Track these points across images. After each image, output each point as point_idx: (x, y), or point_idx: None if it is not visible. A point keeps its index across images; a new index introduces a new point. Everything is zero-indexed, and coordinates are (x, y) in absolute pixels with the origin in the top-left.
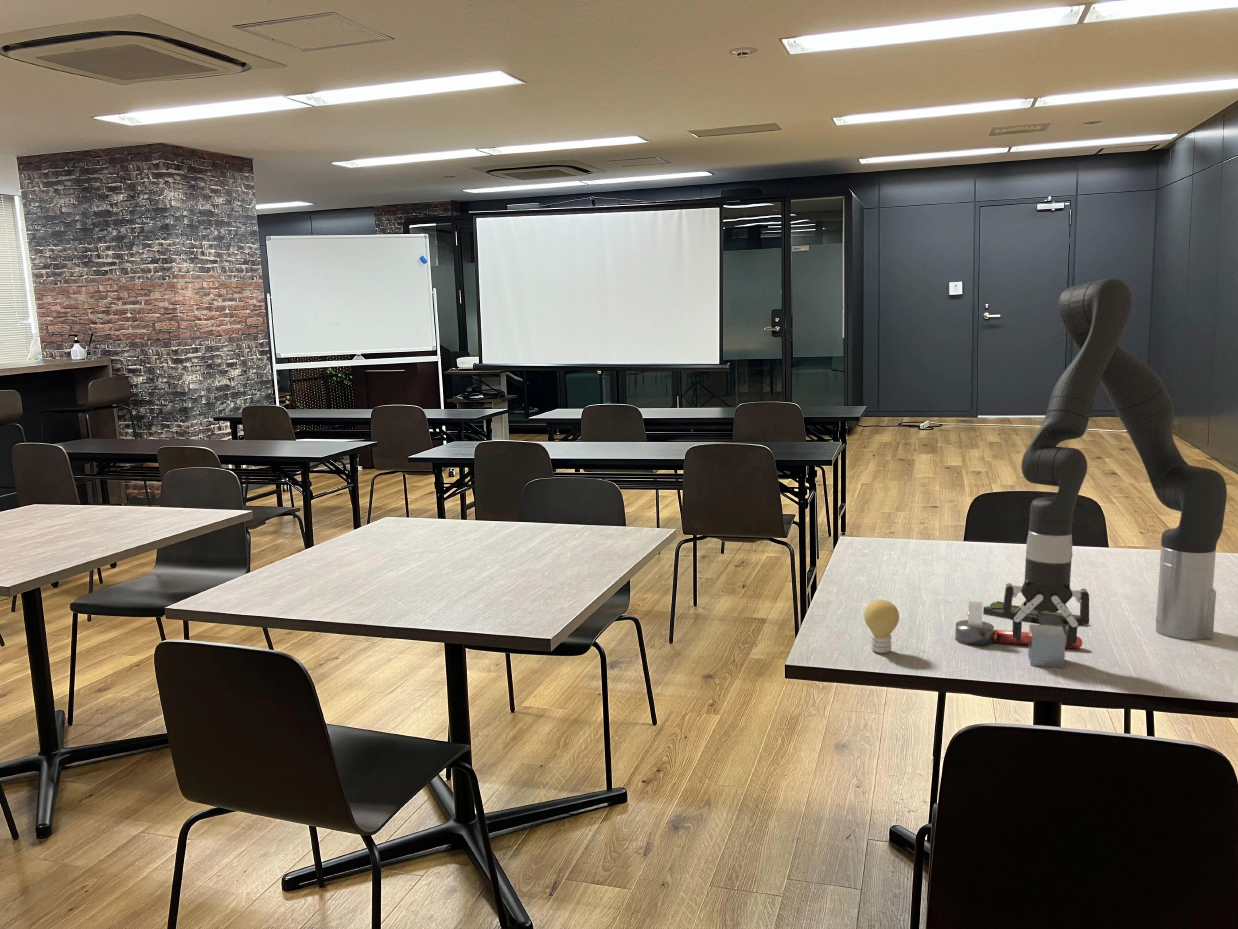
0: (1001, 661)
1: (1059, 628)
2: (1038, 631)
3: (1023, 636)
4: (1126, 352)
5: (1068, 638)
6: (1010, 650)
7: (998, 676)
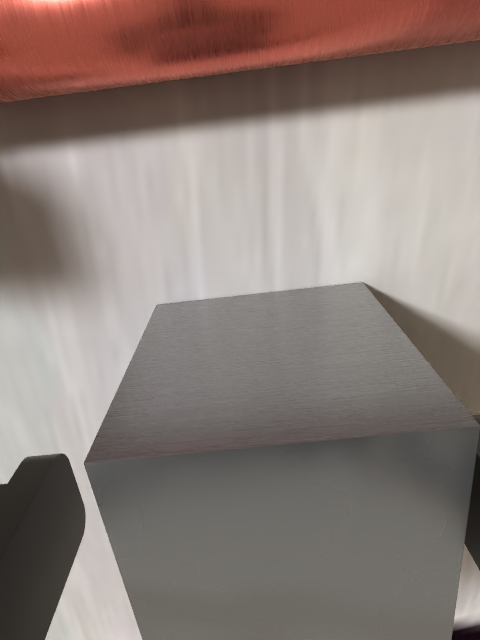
0: (32, 453)
1: (434, 494)
2: (207, 631)
3: (56, 74)
4: None
5: (471, 553)
6: (27, 240)
7: (71, 615)
